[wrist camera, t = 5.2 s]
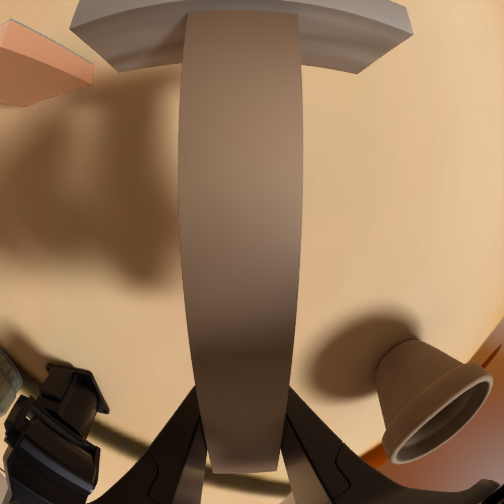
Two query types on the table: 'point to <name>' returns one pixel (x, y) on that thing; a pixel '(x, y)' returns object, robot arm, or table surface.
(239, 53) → the scraper
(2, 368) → the thermos
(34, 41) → the tile
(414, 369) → the flower pot
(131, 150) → the table surface
